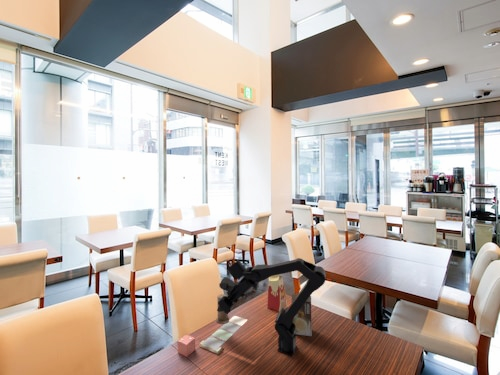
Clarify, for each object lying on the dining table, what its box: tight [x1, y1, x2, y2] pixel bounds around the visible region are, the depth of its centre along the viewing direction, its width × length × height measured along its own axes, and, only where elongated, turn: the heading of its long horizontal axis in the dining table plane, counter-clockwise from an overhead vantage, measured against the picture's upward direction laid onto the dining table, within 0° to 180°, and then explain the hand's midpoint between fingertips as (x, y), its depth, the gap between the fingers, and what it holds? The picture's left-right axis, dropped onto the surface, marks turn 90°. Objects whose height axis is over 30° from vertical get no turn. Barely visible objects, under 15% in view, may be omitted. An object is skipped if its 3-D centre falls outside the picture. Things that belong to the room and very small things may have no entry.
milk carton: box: [266, 274, 288, 313], centre depth 140 cm, size 9×9×20 cm
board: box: [198, 315, 248, 355], centre depth 118 cm, size 10×26×1 cm, turn 150°
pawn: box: [215, 293, 230, 325], centre depth 116 cm, size 6×6×11 cm
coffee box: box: [290, 293, 313, 337], centre depth 120 cm, size 9×6×16 cm
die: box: [177, 334, 196, 358], centre depth 107 cm, size 5×5×5 cm
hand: (219, 308), depth 116 cm, fingers closed on pawn, 5 cm apart
